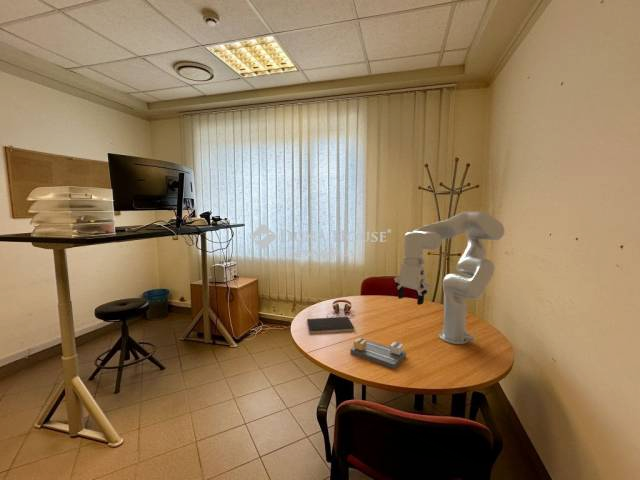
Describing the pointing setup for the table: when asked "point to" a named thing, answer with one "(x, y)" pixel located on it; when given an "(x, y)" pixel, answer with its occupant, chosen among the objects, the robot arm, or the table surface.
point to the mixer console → (379, 354)
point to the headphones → (346, 307)
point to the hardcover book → (330, 325)
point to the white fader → (396, 348)
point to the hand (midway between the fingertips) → (410, 301)
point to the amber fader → (360, 344)
